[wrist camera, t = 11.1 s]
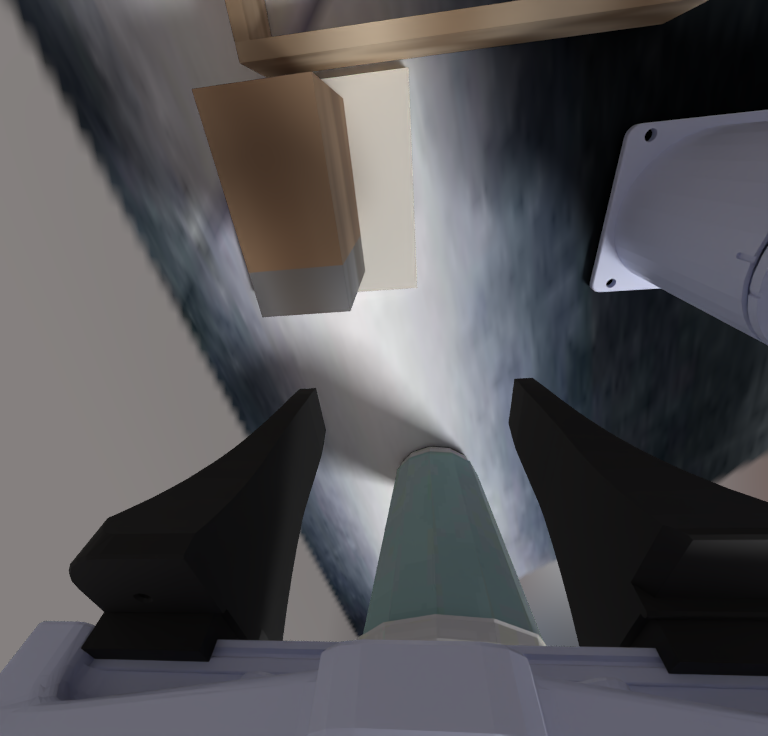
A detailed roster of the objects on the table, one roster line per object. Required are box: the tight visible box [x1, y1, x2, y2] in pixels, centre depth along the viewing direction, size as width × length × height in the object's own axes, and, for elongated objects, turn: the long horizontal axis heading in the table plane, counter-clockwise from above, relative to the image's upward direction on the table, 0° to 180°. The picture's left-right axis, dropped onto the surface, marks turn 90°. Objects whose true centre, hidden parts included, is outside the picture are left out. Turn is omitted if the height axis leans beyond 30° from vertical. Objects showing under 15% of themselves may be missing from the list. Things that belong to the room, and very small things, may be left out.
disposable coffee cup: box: [357, 447, 546, 646], centre depth 23 cm, size 11×11×15 cm
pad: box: [321, 67, 417, 292], centre depth 18 cm, size 10×10×1 cm
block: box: [192, 71, 365, 317], centre depth 15 cm, size 4×8×6 cm, turn 6°
